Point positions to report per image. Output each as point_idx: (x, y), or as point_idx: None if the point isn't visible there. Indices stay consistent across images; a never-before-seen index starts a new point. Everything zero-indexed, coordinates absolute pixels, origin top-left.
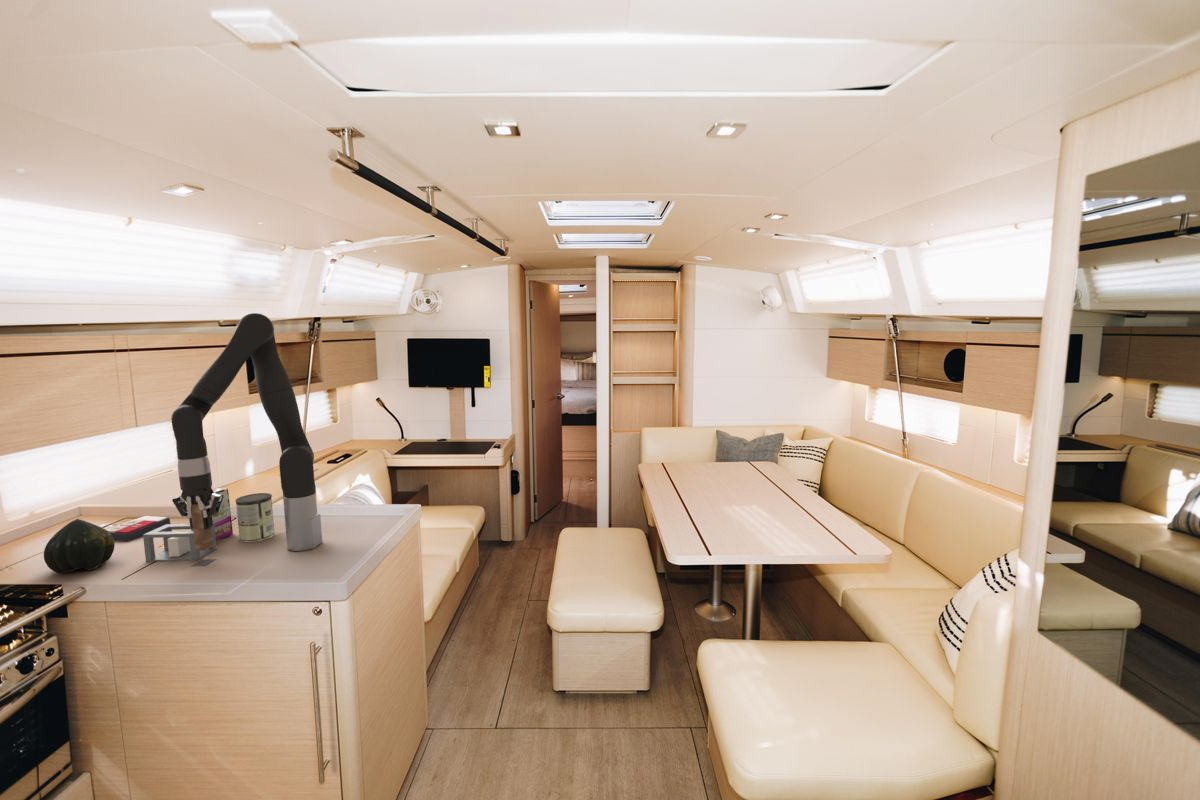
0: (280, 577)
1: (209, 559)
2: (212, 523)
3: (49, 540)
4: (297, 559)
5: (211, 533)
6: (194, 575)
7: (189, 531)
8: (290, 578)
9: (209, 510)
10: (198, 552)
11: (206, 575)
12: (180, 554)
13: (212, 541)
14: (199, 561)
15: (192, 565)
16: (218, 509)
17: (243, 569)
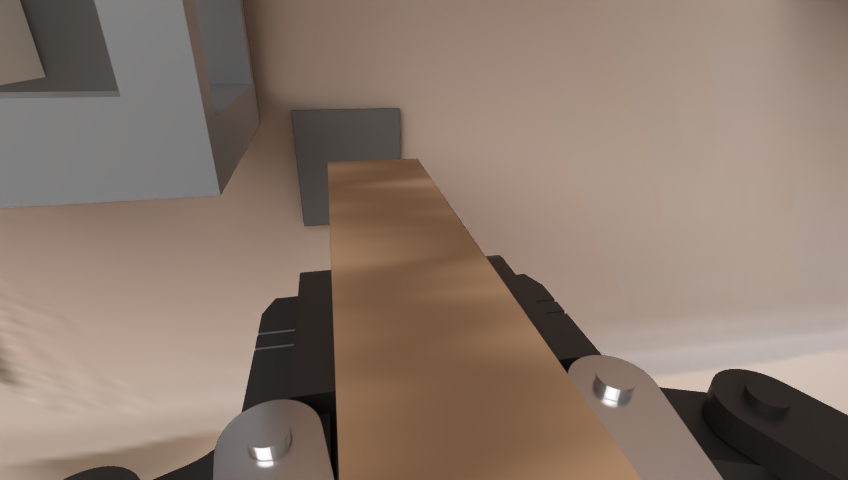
0: (773, 301)
1: (348, 116)
2: (546, 296)
3: None
4: (830, 113)
5: (445, 199)
6: None
7: (58, 115)
8: (805, 305)
9: (653, 464)
10: (249, 109)
11: None
12: (33, 59)
13: (425, 171)
14: (300, 150)
15: (305, 212)
16: (839, 440)
17: (613, 236)
